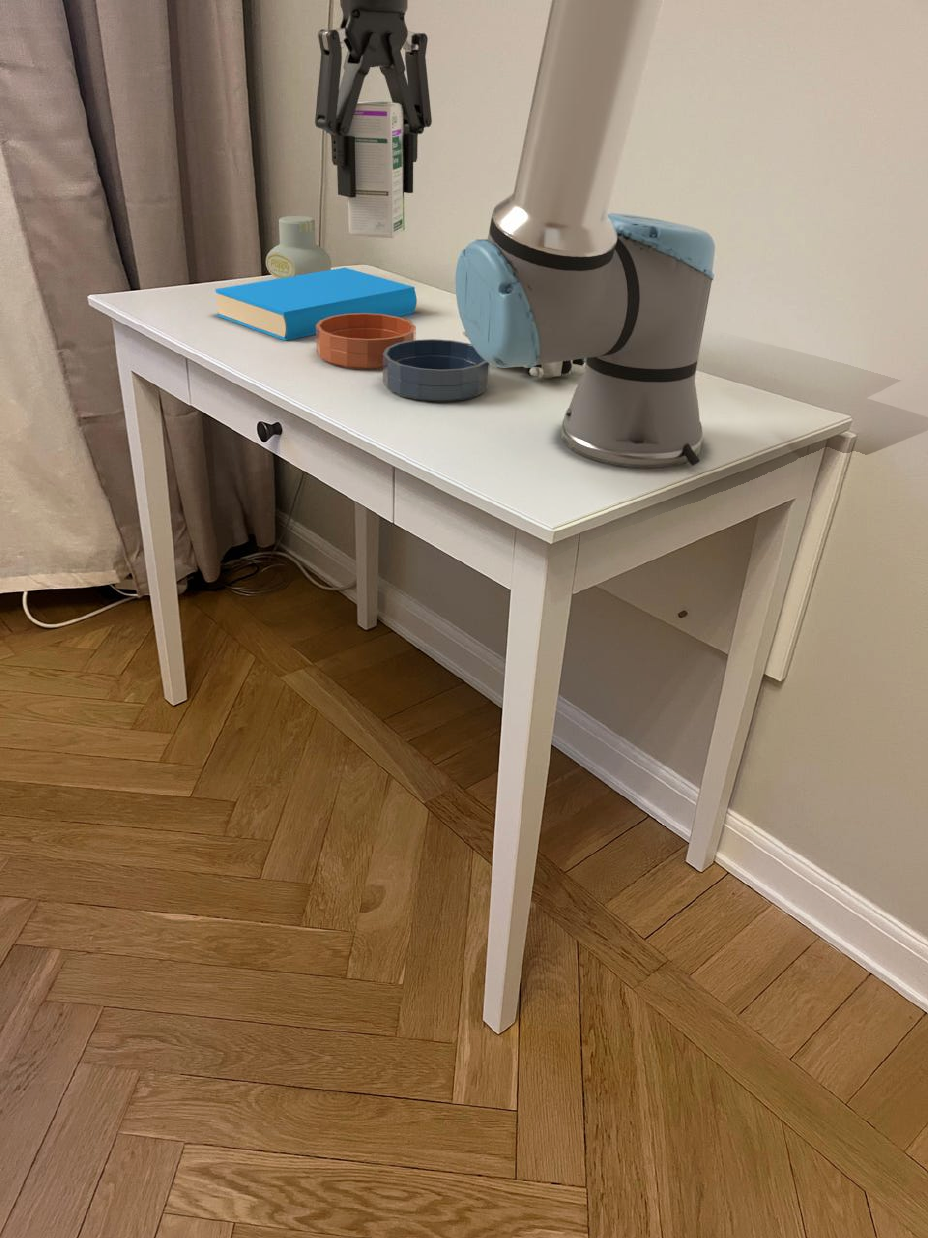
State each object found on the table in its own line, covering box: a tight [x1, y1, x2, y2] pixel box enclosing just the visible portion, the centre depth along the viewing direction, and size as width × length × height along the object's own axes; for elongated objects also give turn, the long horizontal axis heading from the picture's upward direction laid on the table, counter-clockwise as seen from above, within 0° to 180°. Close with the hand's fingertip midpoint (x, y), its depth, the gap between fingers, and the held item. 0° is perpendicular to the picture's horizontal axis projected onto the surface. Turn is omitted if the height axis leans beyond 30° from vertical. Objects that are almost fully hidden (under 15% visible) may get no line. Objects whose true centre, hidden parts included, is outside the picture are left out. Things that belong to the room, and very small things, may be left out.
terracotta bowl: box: [315, 313, 417, 370], centre depth 132 cm, size 13×13×4 cm
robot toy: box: [462, 330, 586, 379], centre depth 130 cm, size 12×4×15 cm
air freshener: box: [265, 215, 332, 279], centre depth 165 cm, size 11×8×10 cm
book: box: [215, 267, 418, 342], centre depth 148 cm, size 17×4×25 cm
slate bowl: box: [382, 338, 491, 403], centre depth 122 cm, size 13×13×4 cm
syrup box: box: [347, 100, 406, 239], centre depth 119 cm, size 6×6×14 cm
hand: (376, 193), depth 120 cm, fingers closed on syrup box, 8 cm apart
